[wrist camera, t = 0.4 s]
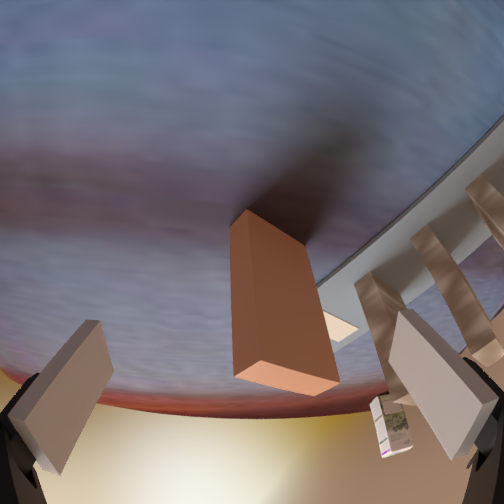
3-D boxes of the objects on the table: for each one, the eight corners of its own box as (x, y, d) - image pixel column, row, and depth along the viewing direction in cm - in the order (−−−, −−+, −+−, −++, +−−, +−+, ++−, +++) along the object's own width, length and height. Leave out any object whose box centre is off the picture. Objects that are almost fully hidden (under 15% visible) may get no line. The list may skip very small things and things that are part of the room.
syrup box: (368, 404, 64) (381, 459, 53) (377, 394, 60) (391, 453, 49) (389, 399, 64) (403, 452, 53) (399, 390, 60) (414, 446, 50)
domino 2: (426, 223, 28) (495, 338, 18) (450, 253, 31) (506, 353, 21) (409, 238, 29) (471, 355, 19) (435, 266, 32) (486, 367, 22)
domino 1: (370, 271, 32) (415, 389, 21) (400, 293, 35) (441, 395, 25) (353, 284, 33) (392, 402, 23) (385, 304, 36) (421, 406, 26)
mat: (539, 75, 16) (543, 76, 16) (561, 156, 22) (564, 158, 22) (251, 333, 39) (252, 337, 38) (319, 358, 45) (320, 361, 44)
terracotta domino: (246, 208, 26) (260, 360, 16) (305, 245, 30) (340, 383, 19) (229, 227, 28) (233, 376, 17) (287, 261, 31) (314, 396, 20)
